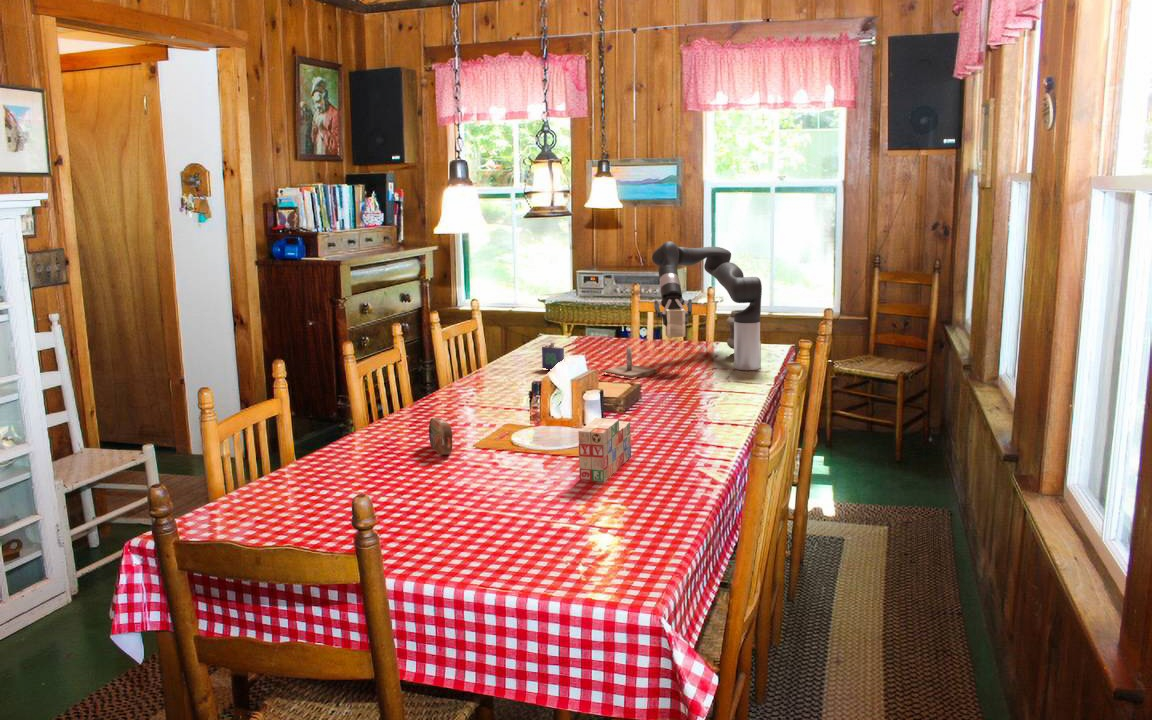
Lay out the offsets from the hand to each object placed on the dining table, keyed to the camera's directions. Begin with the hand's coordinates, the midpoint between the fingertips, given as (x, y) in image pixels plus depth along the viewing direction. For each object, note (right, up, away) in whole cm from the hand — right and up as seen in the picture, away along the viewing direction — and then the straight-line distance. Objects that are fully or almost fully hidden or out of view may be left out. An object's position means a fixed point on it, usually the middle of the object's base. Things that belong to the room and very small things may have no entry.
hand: (675, 324), depth 335 cm
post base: (-17, -18, +2) cm, 24 cm away
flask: (-44, -17, +12) cm, 49 cm away
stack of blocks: (-28, -39, -106) cm, 116 cm away
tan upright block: (0, -4, +2) cm, 5 cm away
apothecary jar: (+29, -12, +29) cm, 42 cm away
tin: (-71, -37, -87) cm, 119 cm away
